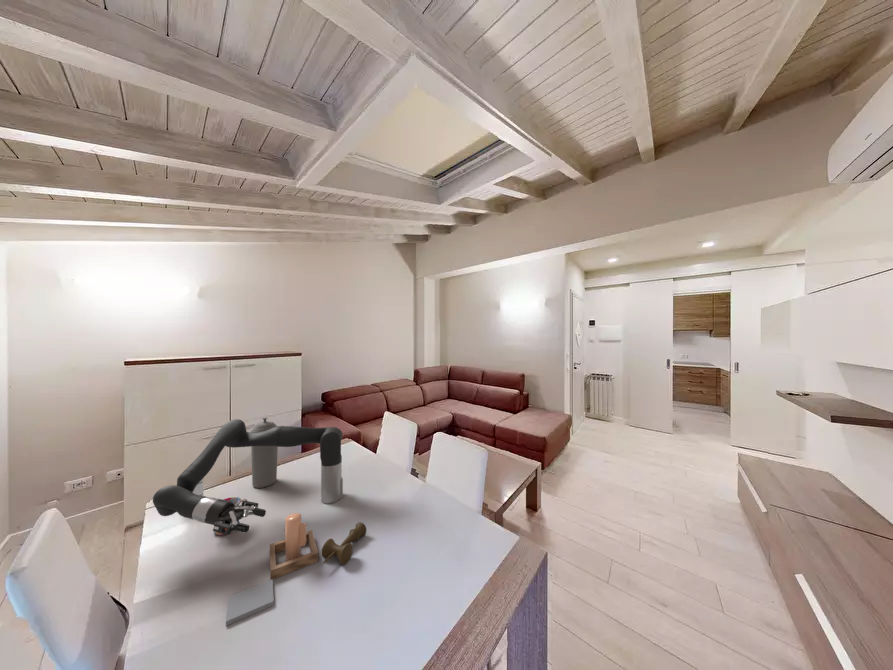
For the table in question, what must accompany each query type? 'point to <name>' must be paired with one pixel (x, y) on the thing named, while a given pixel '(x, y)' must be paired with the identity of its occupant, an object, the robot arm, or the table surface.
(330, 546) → the kendama
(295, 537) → the peach cylinder post
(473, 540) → the table surface
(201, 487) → the syrup box
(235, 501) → the mug
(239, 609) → the slate mat
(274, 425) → the canister
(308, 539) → the walnut collar
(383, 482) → the table surface
